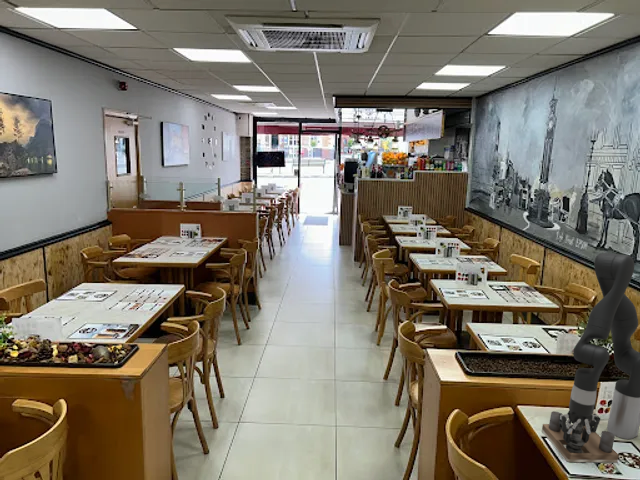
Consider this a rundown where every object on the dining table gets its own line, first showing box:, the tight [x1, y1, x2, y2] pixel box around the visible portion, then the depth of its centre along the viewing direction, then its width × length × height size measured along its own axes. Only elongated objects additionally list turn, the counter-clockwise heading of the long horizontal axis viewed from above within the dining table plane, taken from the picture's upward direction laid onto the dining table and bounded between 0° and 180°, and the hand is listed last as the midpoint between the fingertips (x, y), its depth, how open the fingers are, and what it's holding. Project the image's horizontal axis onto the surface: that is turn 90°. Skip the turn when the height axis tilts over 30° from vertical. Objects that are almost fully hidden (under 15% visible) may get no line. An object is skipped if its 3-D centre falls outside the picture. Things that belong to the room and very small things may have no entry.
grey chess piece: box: [566, 424, 585, 453], centre depth 172 cm, size 6×6×12 cm
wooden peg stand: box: [541, 410, 620, 464], centre depth 177 cm, size 18×18×9 cm
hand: (575, 441), depth 172 cm, fingers closed on grey chess piece, 5 cm apart
